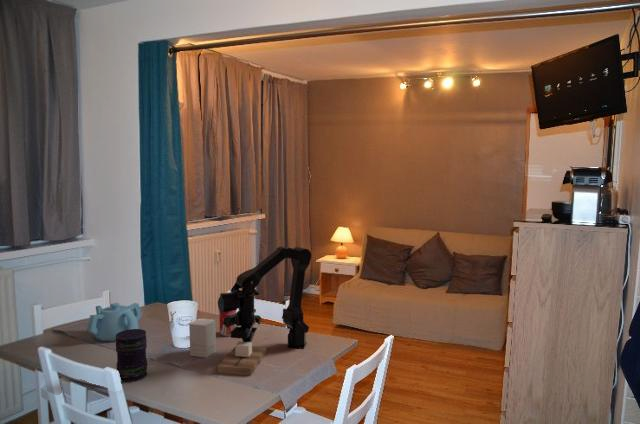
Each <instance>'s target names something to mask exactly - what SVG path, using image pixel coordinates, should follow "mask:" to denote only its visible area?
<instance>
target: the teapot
mask: <svg viewBox="0 0 640 424" xmlns="http://www.w3.org/2000/svg"><path fill="white" fill-rule="evenodd" d="M132 310H133V311H132ZM95 311H96V314H90V315H89V319H88V323H87V326H86V331H87V332H89V333H91V334H92V335H93V336H94V337H95V338H96V340H98V341H100V340H101V342H107V341H111V342H116V334H117V333H119V332H121V331H125V330H130V329H139V323H138V322H139V320H140V319H141V318H142V316H143V313H142V310H141V308H140V305H139V303H136V302H134V303H132V304H129V305H128V306H126V305H120V303H119V302H114V303H110V306H107V307H104V308H103V307H102V305H96V306H95Z"/></svg>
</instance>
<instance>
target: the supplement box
mask: <svg viewBox="0 0 640 424" xmlns="http://www.w3.org/2000/svg"><path fill="white" fill-rule="evenodd" d="M188 326H189V345H190V346H189V350H190V356H192V357H198V358H206V359H207V358H209V357H210V356H211V355H214V353H216V351H217V340H216V339H217V338H216V336H217V333H216V332H217V331H216V319H209V318H198V319H196V320H194V321H192V322H190V323H189V324H188Z"/></svg>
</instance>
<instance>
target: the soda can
mask: <svg viewBox="0 0 640 424" xmlns="http://www.w3.org/2000/svg"><path fill="white" fill-rule="evenodd" d="M218 313H219V314H218V315H219V318H218V319H219V320H218V321H219V334H220V335H221V336H222V337H231V331H232V330H233V329H234V328H236V327H238V326H236V324H235V325H232V326H229V327H226V326H225V325H223V319H224V318H225V317H227V316H230V315H233V314H236V313H237V310H234V311H228V312H223V313H221V312H220V311H219V310H218Z"/></svg>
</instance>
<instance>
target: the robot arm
mask: <svg viewBox="0 0 640 424" xmlns="http://www.w3.org/2000/svg"><path fill="white" fill-rule="evenodd" d="M285 259H290V263H291V266H292V274H291V275H292V278H291V286H290V293H289V302H288V306H286V308H282V316H281V319H282V322H283V324H284V325H285V326H286V329H287V330H288V334H287V348H291V349H305V348H306V345H307V343H308V342H307V333H308V332H309V329H310V326H309V325H308V324H306V323H305V322H304V320H305V319H304V312H303V309H302V303H303V302H302V301H303V292H304V285H305V277H306V271H307V269H308V268H309V266H310V264H311V260H312V252H311V250H309V249H307V248H304V247H301V246H295V247H294V248H293V247H285V246H278V247H277V248H276V250H274V251H273V252H272V253H271V254H269V255H268V256H267V257H266V258H265V259H263V260H262V261H261V262H259V263H258V264H257V265H256V266H254V267H252V268H250V269H248V270H245V271H244V272H241V273H240V274H238V276H236V280H235V283H234V285H233V286H232V287H231V289H230V292H223V293H222V292H221V293H220V294H219V297H218V301H217V306H218V307H217V308H218V312H219V311H220V312H221V313H223V312H228V311H234V310H236V314H233V315H230V316H227V317H225V318H224V319H223V325H225V326H226V327H229V326H232V325H235V324H236V326H237V327H236V328H234V329H233V330H232V331H231V336H230V338H232V339H242V342H252V341H253V338H254V336H255V334H256V331H257V329H258V327H254V326H255V324H257V325H261V324H262V317H261V315H256V314H255V313H256V312H257V309H256V308H255V296H260V295H261V294H260V292H258V291H257V289H256V288H257V287H258V286H259V285H260V283H261V281H262V279H263V277H264V276H266V275H267V274H268V273H270V272H271V271H272V270H273V269H274V268H276V267H277V266H278V265H280V263H281V262H283V261H284V260H285ZM237 310H238V311H237Z"/></svg>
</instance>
